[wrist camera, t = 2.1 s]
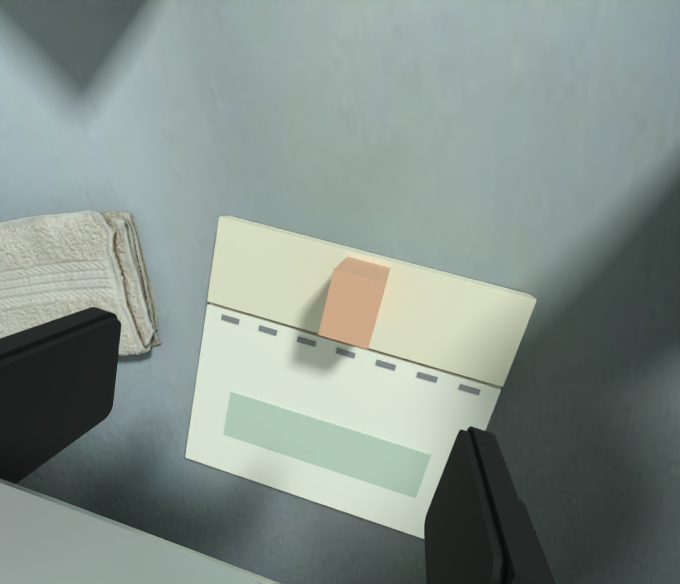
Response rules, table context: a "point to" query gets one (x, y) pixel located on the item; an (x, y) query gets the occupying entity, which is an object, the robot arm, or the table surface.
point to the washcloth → (76, 274)
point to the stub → (369, 299)
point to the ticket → (328, 417)
